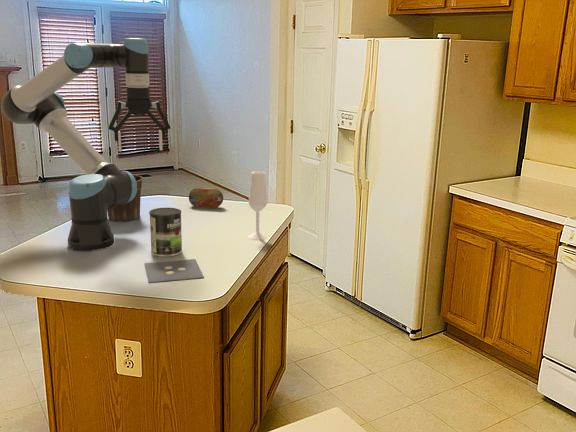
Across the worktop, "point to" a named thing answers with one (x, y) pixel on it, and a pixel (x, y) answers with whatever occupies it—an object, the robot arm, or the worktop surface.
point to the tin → (206, 197)
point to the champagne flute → (257, 199)
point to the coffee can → (165, 232)
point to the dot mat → (173, 270)
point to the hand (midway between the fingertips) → (140, 150)
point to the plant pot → (128, 206)
